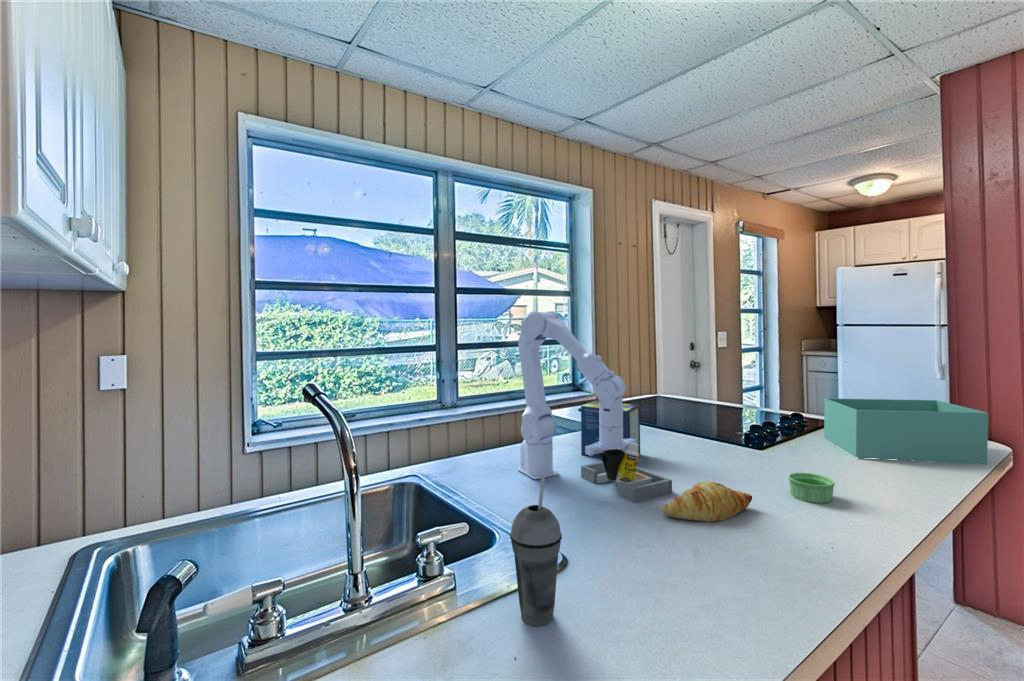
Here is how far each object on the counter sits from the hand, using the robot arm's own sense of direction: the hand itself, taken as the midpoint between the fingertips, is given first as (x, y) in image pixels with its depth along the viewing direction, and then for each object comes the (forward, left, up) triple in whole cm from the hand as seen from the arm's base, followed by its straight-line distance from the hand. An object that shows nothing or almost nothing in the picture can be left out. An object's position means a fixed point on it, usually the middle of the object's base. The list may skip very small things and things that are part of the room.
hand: (611, 479), depth 114 cm
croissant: (+22, +8, -2) cm, 23 cm away
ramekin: (+28, +35, -2) cm, 45 cm away
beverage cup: (+34, -42, -2) cm, 54 cm away
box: (+20, +94, -2) cm, 97 cm away
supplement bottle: (0, +3, -1) cm, 3 cm away
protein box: (-22, +18, -2) cm, 29 cm away
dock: (0, +4, -2) cm, 4 cm away
